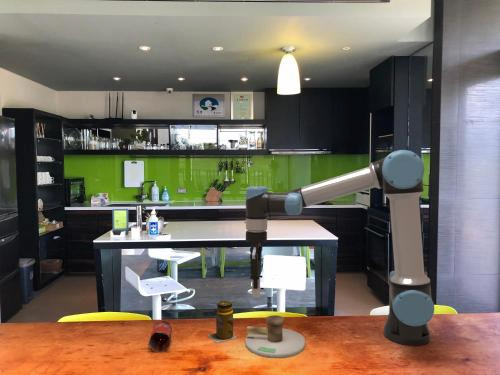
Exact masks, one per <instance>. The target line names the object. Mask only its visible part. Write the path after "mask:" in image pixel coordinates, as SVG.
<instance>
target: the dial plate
mask: <svg viewBox="0 0 500 375" xmlns="http://www.w3.org/2000/svg"><path fill="white" fill-rule="evenodd" d="M282 337H283V339H282V341H280V342H271V341H269V340H268V335H257V334H246V337H245V347H246V349H247V350H248V351H249V352H250V353H251V354H254V355H257V356H260V357H263V358H269V359H282V358H289V357H294V356H296V355H298V354H300V353H301V352H303V351H304V349H305V347H306V339H305V337H304V336H303V335H302V334H301V333H298V332H297V331H295V330H292V329H288V328H283V327H282Z"/></svg>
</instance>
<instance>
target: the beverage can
mask: <svg viewBox="0 0 500 375" xmlns="http://www.w3.org/2000/svg"><path fill="white" fill-rule="evenodd" d="M172 334H173V328H172V325H171V324H170V323H169V322H168V321H167V320H160V321H158V322H156V323H155V324H154V325H153V328H152V331H151V334H150V337H149V340H148V344H147V345H148V346H149V348H151V350H153V352H156V353H164V352H165V351H167V350H168V349H169V348H170V346H171V339H172ZM160 339H163V343H164V344H162V350H161V351H159V349H160V346H159V342H160ZM164 339H165V341H164ZM160 343H161V342H160Z"/></svg>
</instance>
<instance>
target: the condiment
mask: <svg viewBox="0 0 500 375" xmlns="http://www.w3.org/2000/svg"><path fill="white" fill-rule="evenodd" d="M215 322H216V323H215V333H211V334H207V335H206V336H208V338H209V339H211V340H212V341H213V342H214V343H216V344H219V343H221V342H227V341H231V340H233V339H238V336H237V335H235V334H234V310H233V303H232V302H231V301H228V300H222V301H219V302H218V303H217V304H216V311H215Z"/></svg>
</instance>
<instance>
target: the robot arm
mask: <svg viewBox="0 0 500 375" xmlns="http://www.w3.org/2000/svg"><path fill="white" fill-rule="evenodd" d="M424 176H425V165H424V162H423V160H422V158H421V157H420V156H419V155H418V154H416V153H415V152H413V151H412V150H407V149H399V150H394V151H392V152H391V153H389V154H388V155H386V156H385V157H383V158H381V159H379V160H376V161H373V162H370V164H369V165H368V166H367V167H364V168H361V169H357V170H353V171H351V172H347V173H343V174H341V175H338V176H335V177H331V178H327V179H325V180H321V181H319V182H318V181H317V182H315V183H312V184H308V185H305V186H302V187H298V188H294V189H293V190H292V189H291V190H288V191H286V192H269V191H268V188H267V186H260V185H259V186H255V185H254V186H248V187H247V188H246V193H245V220H244V222H243V223H244V224H245V229H246V231H245V241H246V242H247V243H251V246H250V247H249V261H250V277H249V279H250V280H251V298H256V299H257V298H258V299H259V298H261V278H263V275H261V274H262V257H263V254H262V253H263V246H262V244H265V243H266V242H267V241H268V232H267V230H268V215H282V216H285V215H286V216H299V215H301V213H302V211H303V209H305V208H308V207H311V206H314V205H315V206H316V205H318V204H321V203H324V202H327V201H328V202H329V201H332V200H336V199H339V198H342V197H347V196H349V195H353V194H356V193H361V192H363V191H367V190H371V189H373V188H376V189H379V190H380V189H383V195H384V196H385V197H386V198H388V200H389V211H390V212H389V213H390V221H391V223H390V224H391V236H392V239H391V240H392V249H393V250H392V251H393V262H394V264H393V265H394V270H392V271H390V272H389V277H388V281H389V282H388V284H389V285H388V286H389V288H388V289H389V291H388V292H389V296H388V298H389V302H388V304H389V305H388V306H389V308H388V315H387V318H386V320H385V324H384V325H383V335H384V337H385V338H386V339H388V340H389V341H392V342H394V343H397V344H401V345H407V346H424V345H427V344H428V343H429V344H430V341H431V331H430V329H429V326H428V323H429V322H430V321H431V319H432V318H434V314H435V304H434V301H433V299H432V289H431V279H430V277H428V276H427V275H426V274H425V269H424V268H425V266H424V265H425V264H424V253H423V252H424V251H423V240H422V238H423V237H422V224H421V214H420V213H421V212H420V200H419V199H420V197H421V196H422V195H423V193H424V179H423V178H424Z"/></svg>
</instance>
